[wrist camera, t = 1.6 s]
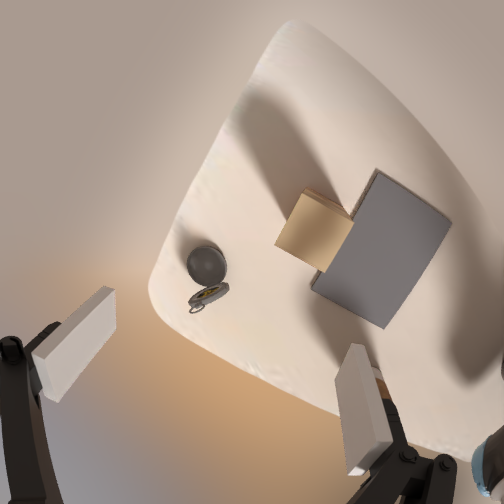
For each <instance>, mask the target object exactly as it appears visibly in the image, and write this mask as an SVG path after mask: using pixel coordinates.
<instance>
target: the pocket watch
mask: <svg viewBox="0 0 504 504" xmlns="http://www.w3.org/2000/svg"><path fill="white" fill-rule="evenodd" d="M187 269H188V272H189V275H190V276H191V278H192V279H193V280H194V281H195V282H196V283H198V284H200V285H202V286H206V287H207V288H204V289H203V290H201V291H199V292H197V293H196V294H195V295H193V296H192V297H191V298H190V300H189V301H188V303H189V305H190V306H191V307H192V308H191V309H190V311H189V313H191V314H193V313H197V312H200V311H201V310H202V309H204V307H205V305H207V304H209V303H211V302H213V301H215V300H217V299H219V298H220V297H222V296H223V295H225V294H226V293H227V292H228V291H229V285H228V283H225V282H221V281H222V280H223V279H224V277H225V275H226V272H227V264H226V261H225V258H224V257H223V255H222V254H221V253H220V252H219V251H218V250H216V249H215V248H212V247H209V246H202V247H198V248H196V249H195V250H193V251H192V252H191V253H190V255H189V257H188V260H187ZM220 282H221V283H220ZM201 306H203V307H202V308H201V309H200V310H198V311H196V312H191V311H192V310H193V309H194V308H196V309H198V308H200V307H201Z"/></svg>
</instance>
